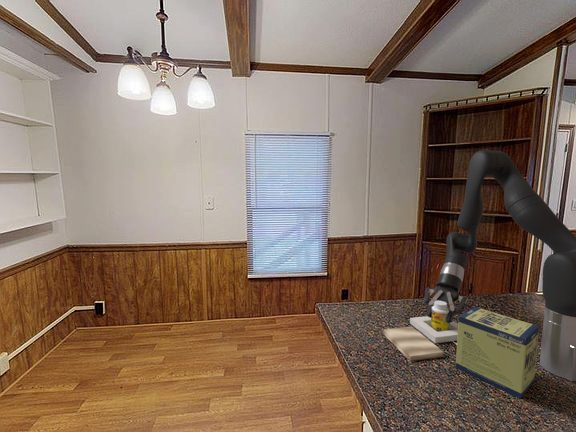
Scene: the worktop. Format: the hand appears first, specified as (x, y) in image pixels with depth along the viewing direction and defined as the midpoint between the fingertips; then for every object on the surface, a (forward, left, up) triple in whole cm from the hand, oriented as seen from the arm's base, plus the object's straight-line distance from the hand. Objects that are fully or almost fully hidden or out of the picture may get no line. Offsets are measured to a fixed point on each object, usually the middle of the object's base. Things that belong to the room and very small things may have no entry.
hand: (438, 319), depth 102 cm
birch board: (-5, +14, -5) cm, 15 cm away
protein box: (-23, +1, -5) cm, 24 cm away
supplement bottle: (+1, -1, -5) cm, 5 cm away
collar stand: (+1, -1, -5) cm, 5 cm away
